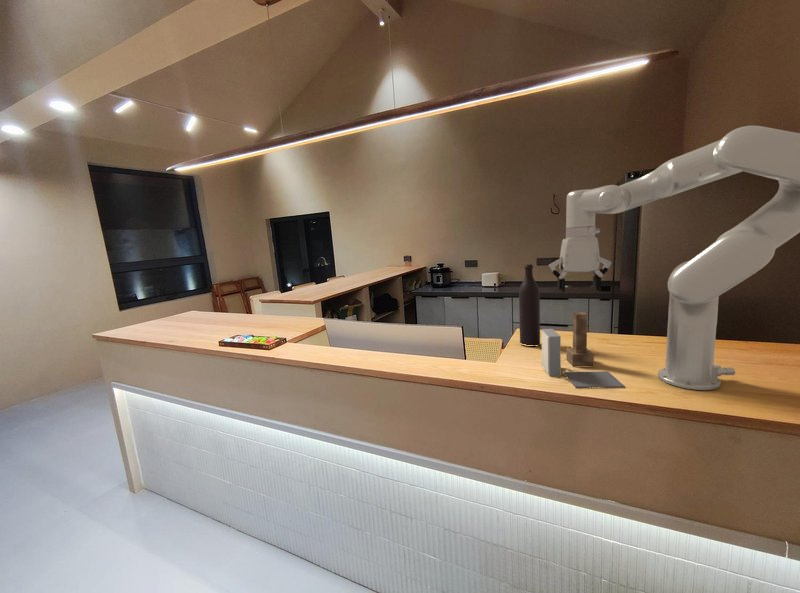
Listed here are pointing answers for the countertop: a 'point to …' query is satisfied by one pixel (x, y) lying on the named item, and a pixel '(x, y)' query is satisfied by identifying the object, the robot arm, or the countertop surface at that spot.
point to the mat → (593, 379)
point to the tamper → (579, 343)
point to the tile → (551, 352)
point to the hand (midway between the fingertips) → (578, 290)
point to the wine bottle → (529, 309)
